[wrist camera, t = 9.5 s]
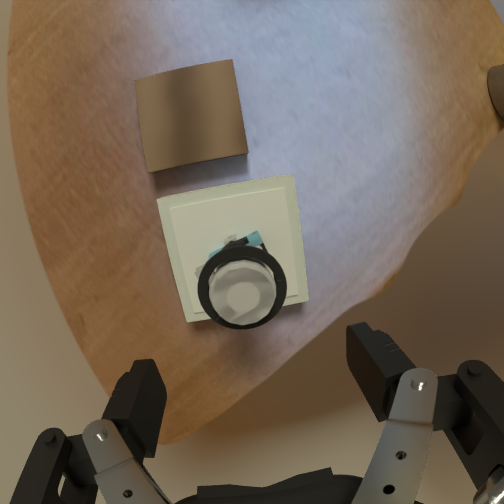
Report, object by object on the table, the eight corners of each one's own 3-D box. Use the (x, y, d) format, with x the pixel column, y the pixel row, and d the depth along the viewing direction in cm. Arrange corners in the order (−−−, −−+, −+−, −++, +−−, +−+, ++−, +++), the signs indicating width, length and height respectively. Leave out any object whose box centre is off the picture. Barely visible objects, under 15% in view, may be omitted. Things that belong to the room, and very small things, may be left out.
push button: (211, 294, 27) (204, 357, 17) (183, 243, 26) (158, 286, 16) (277, 263, 27) (303, 314, 17) (252, 209, 25) (267, 234, 16)
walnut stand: (231, 66, 24) (232, 59, 22) (247, 153, 26) (248, 152, 25) (140, 85, 24) (134, 80, 22) (153, 172, 26) (147, 172, 24)
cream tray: (287, 174, 27) (294, 174, 25) (302, 290, 31) (309, 301, 28) (162, 196, 27) (156, 199, 24) (189, 310, 30) (186, 323, 28)
